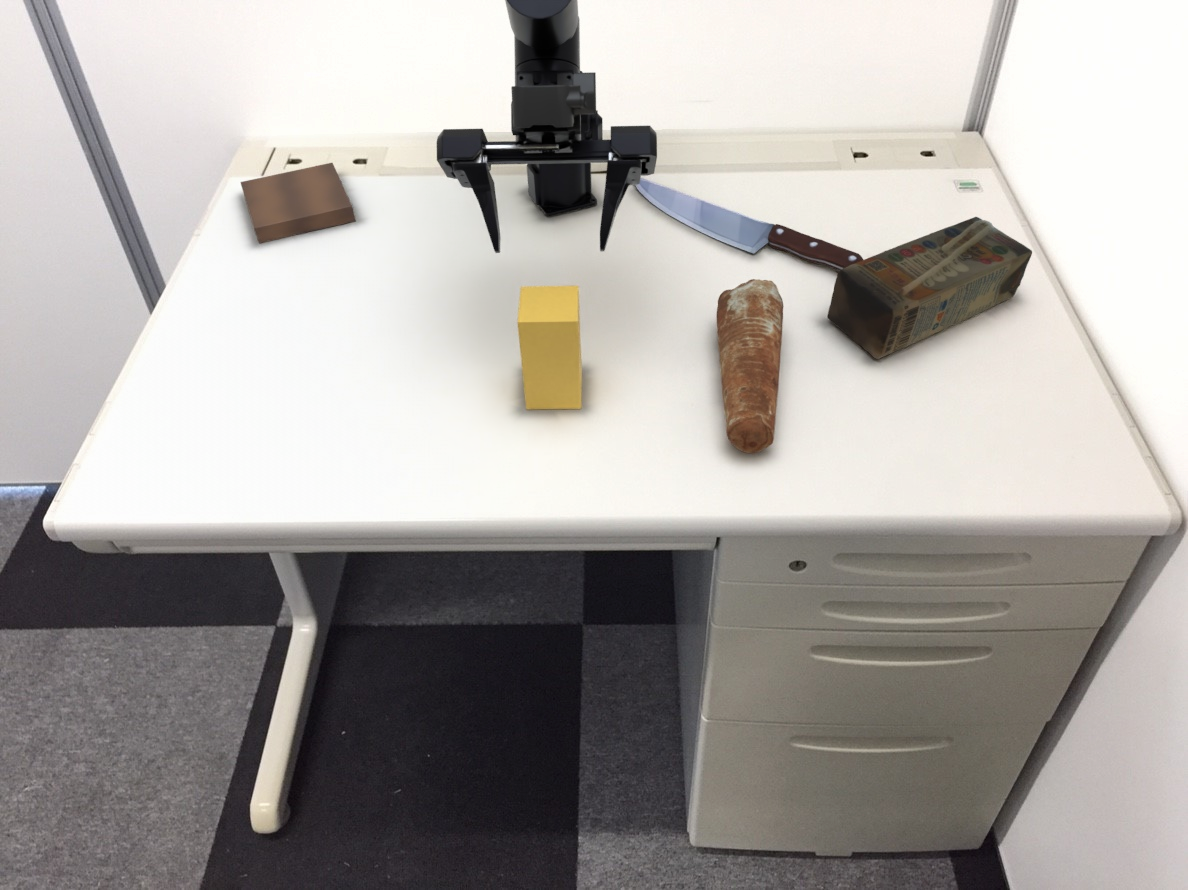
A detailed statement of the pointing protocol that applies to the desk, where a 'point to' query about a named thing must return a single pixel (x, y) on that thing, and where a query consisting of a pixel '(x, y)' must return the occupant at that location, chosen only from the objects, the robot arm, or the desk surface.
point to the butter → (550, 346)
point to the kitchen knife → (744, 228)
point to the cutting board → (297, 202)
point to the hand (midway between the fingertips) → (549, 251)
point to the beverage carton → (926, 285)
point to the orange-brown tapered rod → (750, 361)
